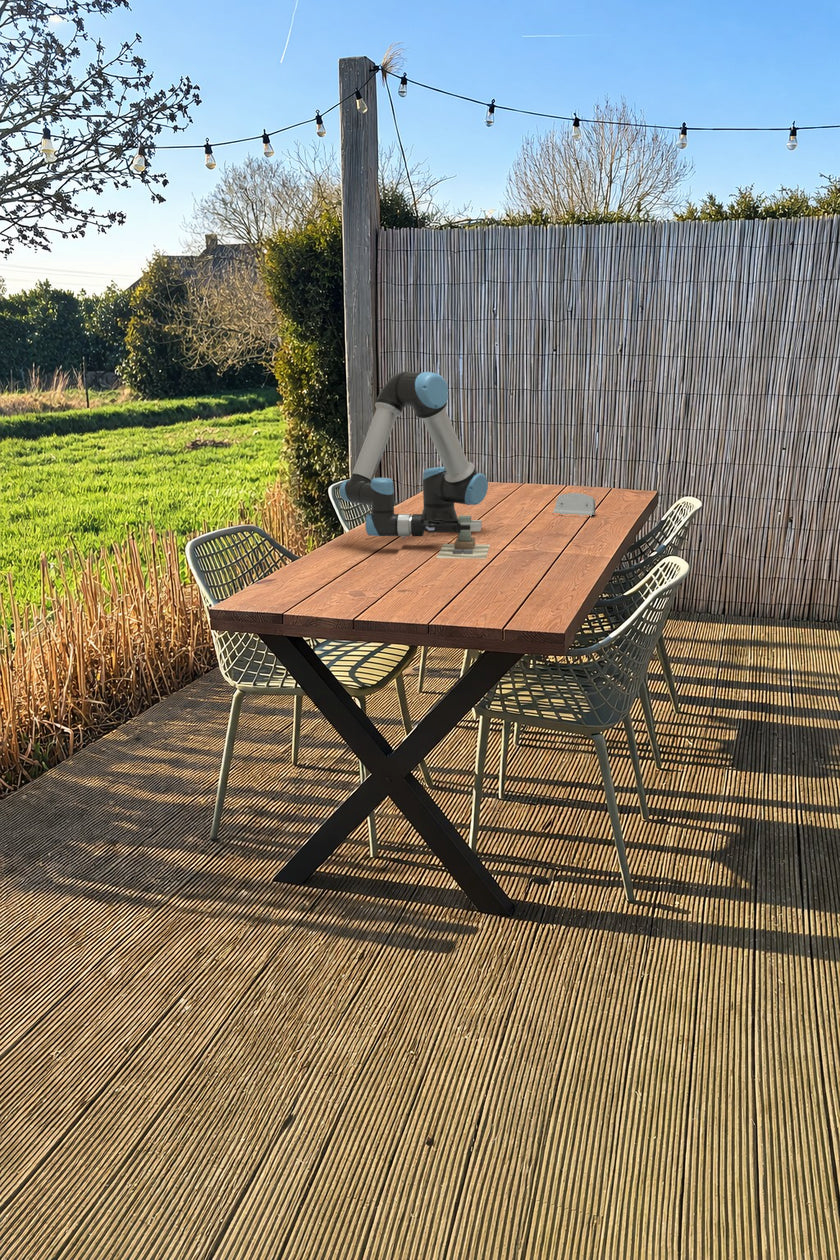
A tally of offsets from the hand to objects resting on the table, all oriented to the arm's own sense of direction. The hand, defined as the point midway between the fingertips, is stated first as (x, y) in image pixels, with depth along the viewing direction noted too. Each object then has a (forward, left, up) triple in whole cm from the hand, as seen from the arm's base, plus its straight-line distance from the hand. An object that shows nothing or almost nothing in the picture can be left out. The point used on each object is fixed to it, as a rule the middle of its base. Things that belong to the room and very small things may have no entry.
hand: (480, 525), depth 326 cm
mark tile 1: (+8, -7, -7) cm, 13 cm away
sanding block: (0, -5, -7) cm, 9 cm away
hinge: (-73, +32, -9) cm, 80 cm away
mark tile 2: (+8, -4, -7) cm, 12 cm away
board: (+5, -5, -9) cm, 12 cm away
